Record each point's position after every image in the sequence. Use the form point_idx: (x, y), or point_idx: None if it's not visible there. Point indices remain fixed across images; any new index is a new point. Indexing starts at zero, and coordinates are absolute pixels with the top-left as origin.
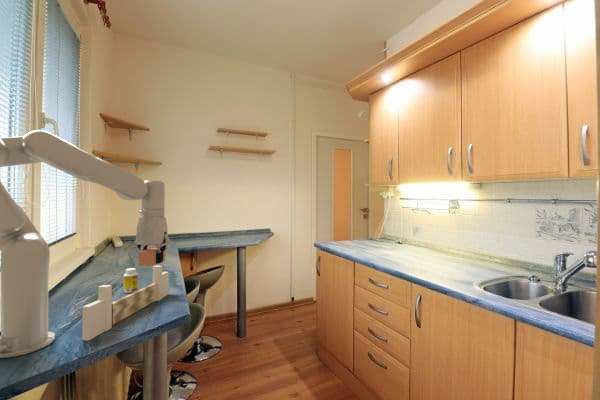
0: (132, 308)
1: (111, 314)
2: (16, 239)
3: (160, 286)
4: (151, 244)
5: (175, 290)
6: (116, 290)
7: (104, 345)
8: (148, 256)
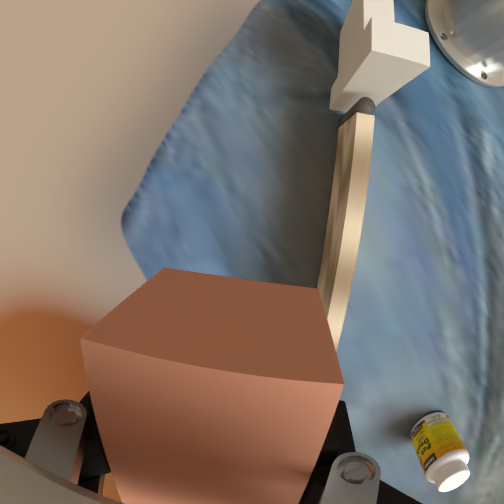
0: (329, 234)
1: (338, 96)
2: None
3: None
4: (78, 491)
5: None
6: (469, 423)
7: (267, 10)
8: (163, 318)
